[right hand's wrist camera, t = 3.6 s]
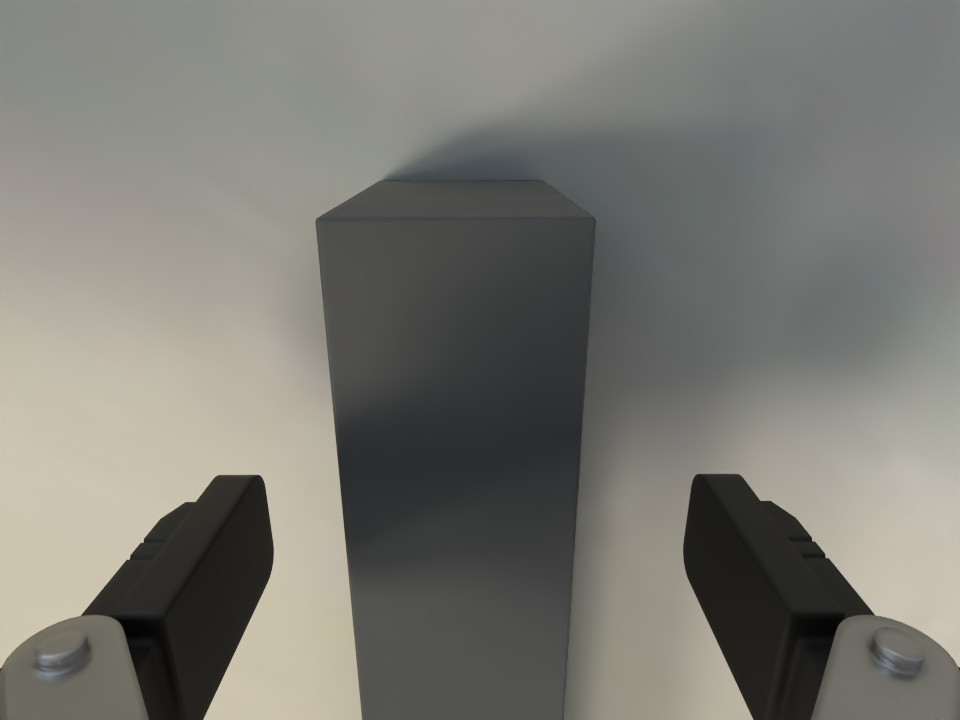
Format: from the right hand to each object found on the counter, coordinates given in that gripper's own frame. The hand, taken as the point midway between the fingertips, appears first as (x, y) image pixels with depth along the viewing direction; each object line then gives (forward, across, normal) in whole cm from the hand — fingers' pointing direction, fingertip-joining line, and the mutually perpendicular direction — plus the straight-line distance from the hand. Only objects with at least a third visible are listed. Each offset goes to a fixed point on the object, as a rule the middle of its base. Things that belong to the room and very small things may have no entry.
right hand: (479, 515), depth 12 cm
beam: (+6, 0, -33) cm, 34 cm away
